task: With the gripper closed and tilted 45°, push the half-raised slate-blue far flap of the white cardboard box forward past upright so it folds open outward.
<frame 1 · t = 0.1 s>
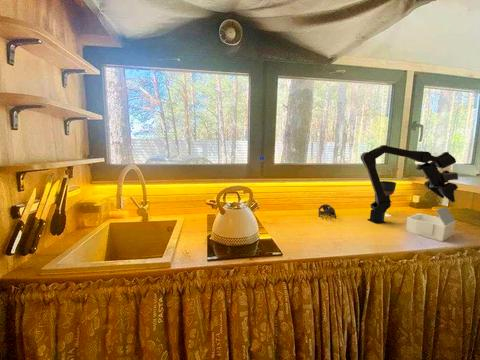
hand: (448, 199, 117), 15 cm above the countertop, tool tilted 35°, fingers open, 9 cm apart
far flap: (445, 215, 106), point 10 cm above the countertop, hinge at 55.0°
wineglass: (384, 214, 141), on the countertop
dark glossy dome: (326, 216, 136), on the countertop
carton: (429, 233, 112), on the countertop
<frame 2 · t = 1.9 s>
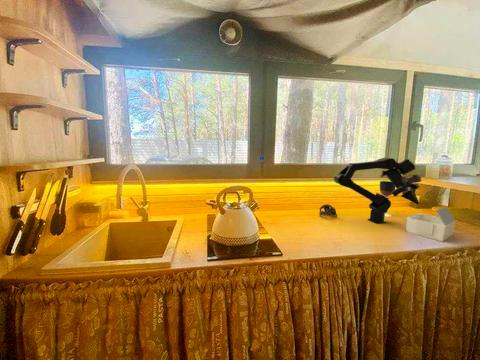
hand: (418, 203, 115), 13 cm above the countertop, tool tilted 45°, fingers closed
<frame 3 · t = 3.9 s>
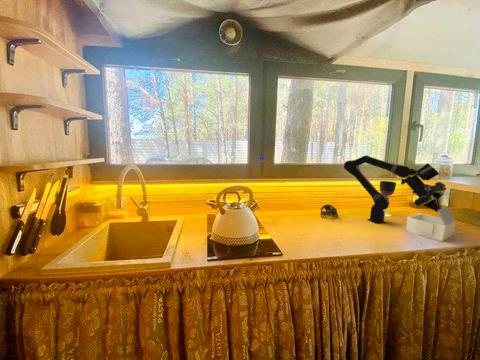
hand: (443, 213, 107), 11 cm above the countertop, tool tilted 45°, fingers closed, pressing on far flap
far flap: (446, 215, 106), point 10 cm above the countertop, hinge at 60.1°, touching gripper
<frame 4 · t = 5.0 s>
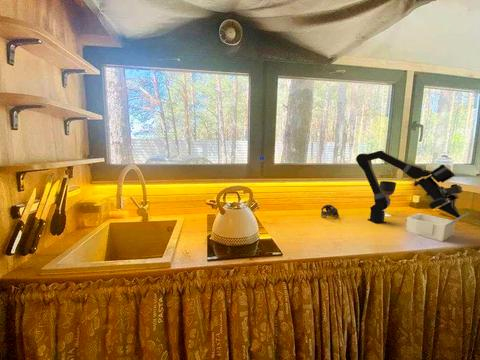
hand: (459, 217, 102), 11 cm above the countertop, tool tilted 45°, fingers closed, pressing on far flap
far flap: (457, 219, 103), point 10 cm above the countertop, hinge at 128.7°, touching carton, gripper
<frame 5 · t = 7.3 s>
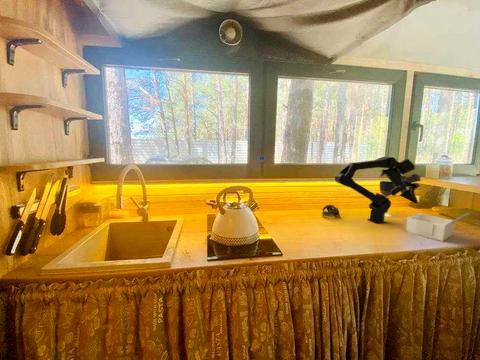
hand: (417, 203, 115), 14 cm above the countertop, tool tilted 45°, fingers closed
far flap: (457, 219, 103), point 10 cm above the countertop, hinge at 128.7°, touching carton
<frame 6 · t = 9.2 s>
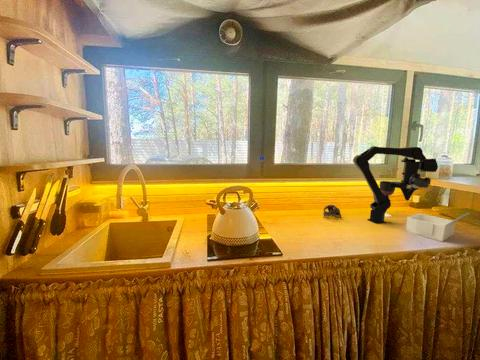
hand: (407, 200, 123), 13 cm above the countertop, tool pointing down, fingers closed
at the end: far flap at +129° (first picture: +55°); dark glossy dome moved 3.0 cm from its start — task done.
